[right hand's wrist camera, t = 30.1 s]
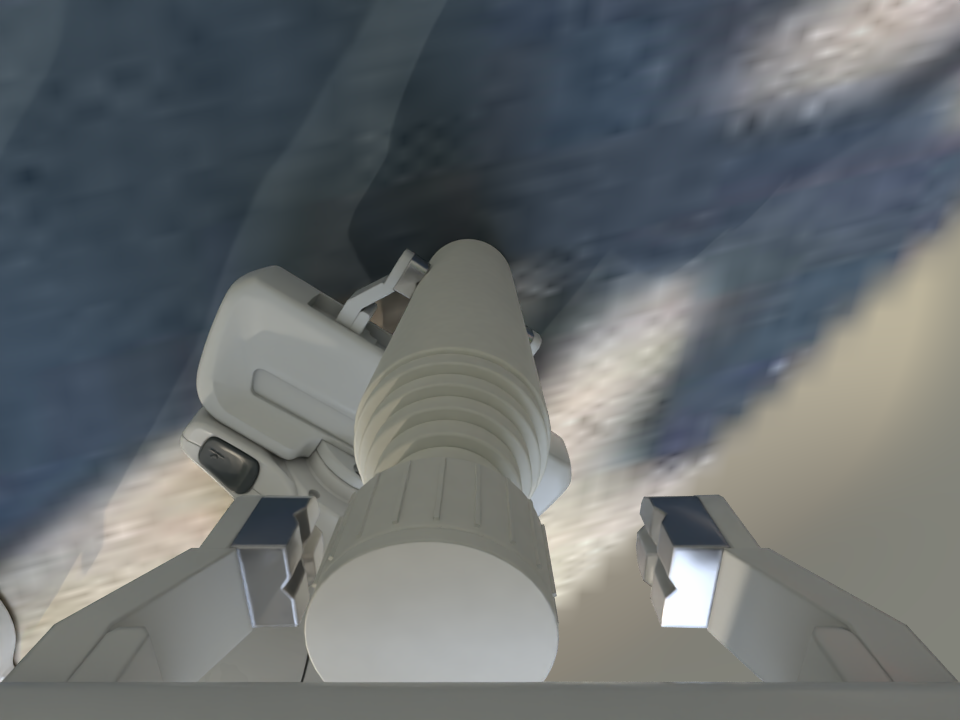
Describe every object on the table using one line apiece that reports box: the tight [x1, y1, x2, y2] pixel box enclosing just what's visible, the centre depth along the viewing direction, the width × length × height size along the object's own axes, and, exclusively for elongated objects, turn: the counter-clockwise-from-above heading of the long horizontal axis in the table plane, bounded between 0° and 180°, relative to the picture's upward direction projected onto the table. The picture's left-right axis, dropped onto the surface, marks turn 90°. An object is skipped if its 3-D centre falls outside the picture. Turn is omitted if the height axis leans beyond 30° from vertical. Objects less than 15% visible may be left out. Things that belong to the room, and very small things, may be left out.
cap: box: [304, 457, 559, 682], centre depth 9 cm, size 4×4×2 cm
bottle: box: [354, 239, 551, 499], centre depth 21 cm, size 5×5×25 cm
